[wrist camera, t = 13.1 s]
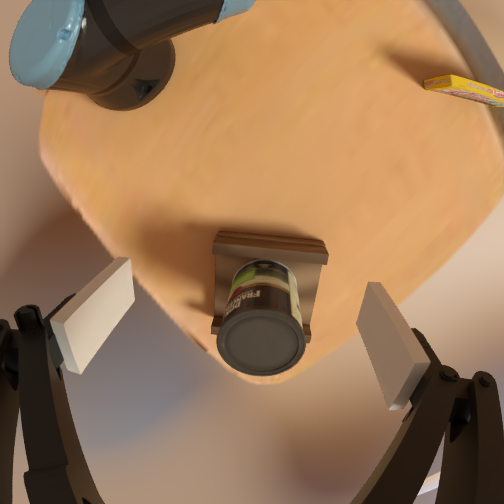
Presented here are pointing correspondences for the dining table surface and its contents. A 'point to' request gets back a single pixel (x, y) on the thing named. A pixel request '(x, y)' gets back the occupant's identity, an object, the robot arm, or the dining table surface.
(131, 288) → the robot arm
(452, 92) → the candy box
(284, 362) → the coffee can
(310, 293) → the stand
